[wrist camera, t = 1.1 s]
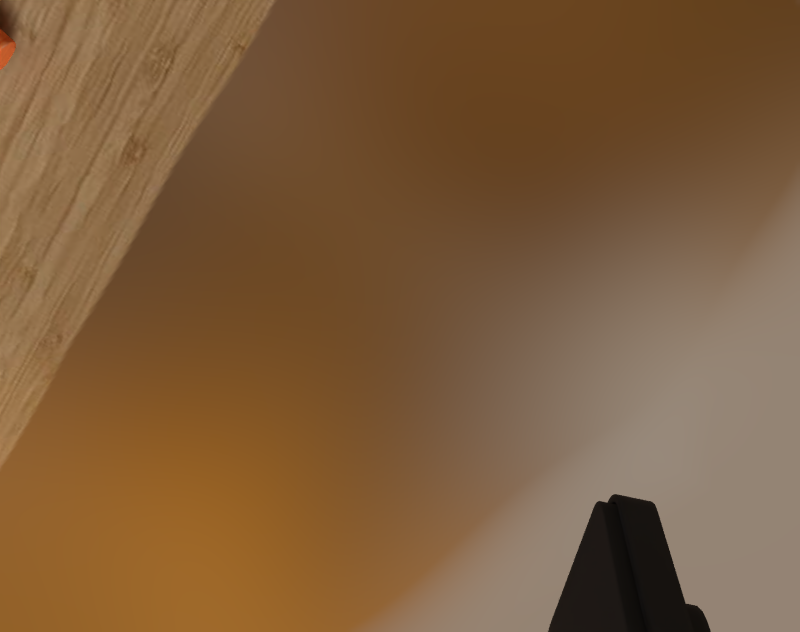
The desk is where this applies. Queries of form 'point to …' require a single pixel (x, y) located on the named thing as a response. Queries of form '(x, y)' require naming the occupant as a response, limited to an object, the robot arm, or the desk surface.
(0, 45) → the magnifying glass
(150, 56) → the desk surface
